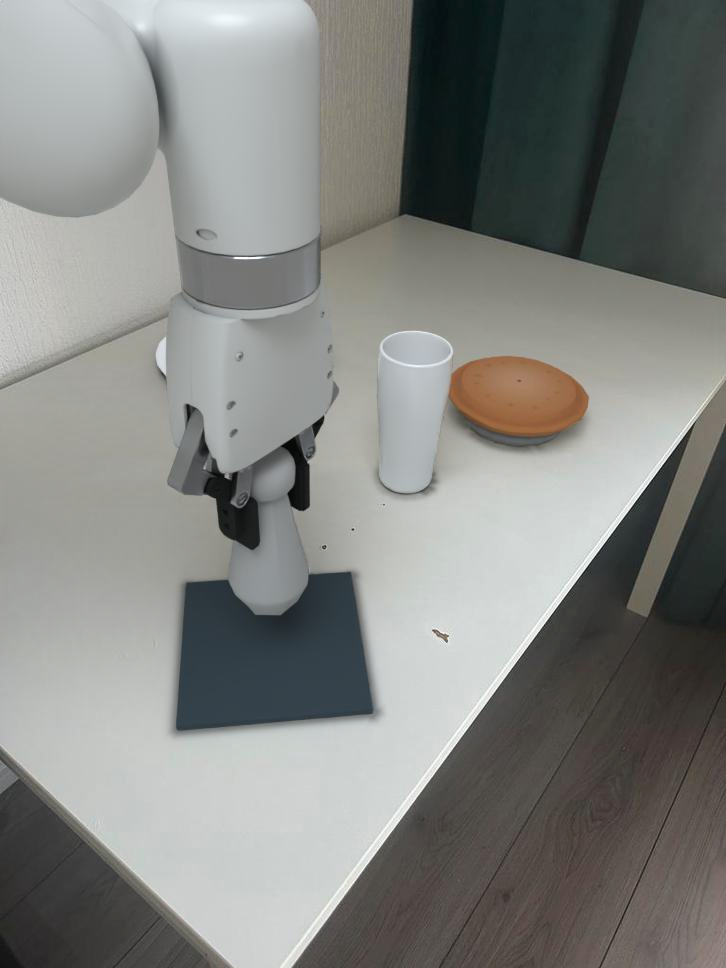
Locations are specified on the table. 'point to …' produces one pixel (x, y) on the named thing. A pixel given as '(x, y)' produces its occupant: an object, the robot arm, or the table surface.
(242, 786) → the table surface
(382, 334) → the table surface
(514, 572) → the table surface
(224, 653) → the mat
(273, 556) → the salt shaker
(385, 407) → the drinking glass
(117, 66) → the robot arm
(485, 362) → the pie
